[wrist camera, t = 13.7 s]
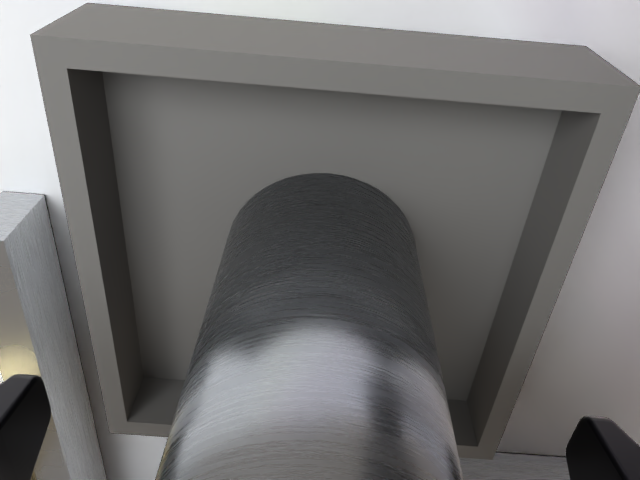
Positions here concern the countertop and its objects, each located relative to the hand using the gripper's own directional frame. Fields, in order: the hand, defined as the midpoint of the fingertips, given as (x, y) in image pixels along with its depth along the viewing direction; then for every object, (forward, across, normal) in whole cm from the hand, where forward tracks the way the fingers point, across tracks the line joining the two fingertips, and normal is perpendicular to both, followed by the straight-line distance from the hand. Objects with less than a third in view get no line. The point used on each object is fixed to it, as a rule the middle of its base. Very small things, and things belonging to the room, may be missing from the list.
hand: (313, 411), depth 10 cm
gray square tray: (+6, 0, 0) cm, 6 cm away
